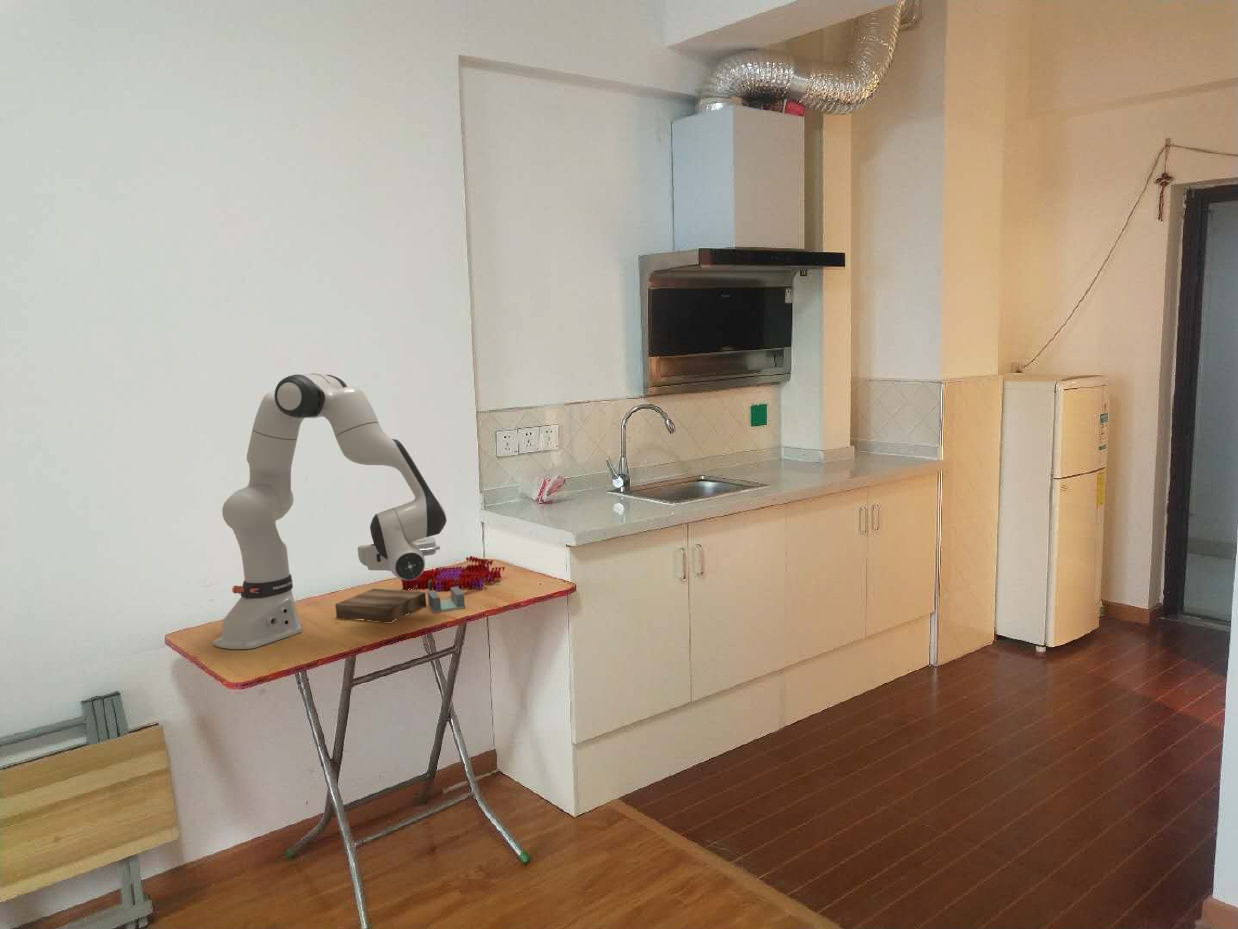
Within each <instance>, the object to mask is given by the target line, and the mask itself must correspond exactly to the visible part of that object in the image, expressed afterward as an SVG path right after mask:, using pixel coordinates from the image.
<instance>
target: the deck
mask: <svg viewBox="0 0 1238 929" xmlns="http://www.w3.org/2000/svg"><path fill="white" fill-rule="evenodd" d="M425 606H426V607H427V599H426V592H425V591H414V590H412V591H406V590H405V591H402V590H399V589H386V588H385V589H384V588H371V589H369V590H367V591H364V592H362V593H359V594H357V595H355V596H352V597H350V598H347V599H344V600H343V601H340V602H337V603H335V613H336V614H335V615H336V619H337V618H345V619H344V620H348V619H364V620H371V621H378V622H377V623H382V622H392V621H393V620H395V619H398V620H400V619H402V618H401V617H403V616H405V615H406V614H408V613H411V614H412V612H413V613H415V612H417V611H419V610H421V609H420V608H422V607H424V608H426V607H425ZM418 609H419V610H418ZM422 609H423V608H422ZM416 610H417V611H416ZM414 611H415V612H414ZM405 617H406V616H405ZM399 618H400V619H399ZM403 618H404V617H403ZM371 621H370V622H371ZM379 621H380V622H379ZM392 623H393V622H392Z"/></svg>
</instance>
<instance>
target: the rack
mask: <svg viewBox="0 0 1238 929" xmlns="http://www.w3.org/2000/svg"><path fill="white" fill-rule="evenodd" d="M450 589H451V591H450V597H451V598H450V599H445V600H441V597H440V596H439V594H438V593H437V590H433V589H432V590H431V591H429V590H427V602H428V603H427V605H428V606H429V607H431V608H430V609H431V611H432V610H433V611H432V612H433V613H434V614H435V612H437V613H441V611H444V612H448V611H447V610H450V611H454V610H453V609H456V610H461V609H460V608H463V609H465V608H466V606H465V605H466V604H465V594H464V592H463V591H462V590H461V588H459V586H458V587H455V586H454V587H452V588H450Z"/></svg>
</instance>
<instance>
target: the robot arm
mask: <svg viewBox="0 0 1238 929" xmlns="http://www.w3.org/2000/svg"><path fill="white" fill-rule="evenodd" d="M320 417H323V418H325V419H326V420H327V422H329V423H330V426H331V429H332V432H333V434H334V438H335V439H336V442H337V444H338V446H339V449H340V450H341V452H342V454H343V456H344V457H345V458H346V459H347V460H349V461H351V462H353V463H355V464H359V465H366V466H385V467H387V466H388V467H391V468H394V469H396V470H397V471H399V473H400V474H401V475H402V477H403V478H404V480H405V482H406V483H407V485H408V487H409V488H410V490H411V492H412V494H413V496H414V499H413V500H411V501H409V502H407V503H403V504H400V505H398V506H396V507H392V508H389V509H386V510H383V511H380V512H378V513H375V515H374V516H373V517H372V520H371V522H370V526H369V529H370V531H369V532H370V534H371V539H372V542H373V543H371V544H366V545H358V546H357V555H358V560H359V562H360V563H361V564H362V565H364V566H366V568H367V570H369V571H387V572H388V571H389V572H391V573H392V574H393V575H394V576H395V578H398V579H399V580H400V581H401V580H413V579H416V578H417V577H419V576H420V575H421V574H422V573H423V571H425V567H426V560H425V557H426V556H432V555H435V554H436V553H437V551H439V550H441V547H440V545H438V544H437V543H436V539H435V537H433V536H436V535H439V534H440V533H442V530H443V529H444V527H445V526H446V523H447V515H446V511H445V508H444V507H443V506H442V504H441V502H440V501H439V500H438V499H437V498H436V496H435V495H434V493H433V492H432V490H431V489H430V487H429V485H428V483H427V482H426V480H425V478H424V477H423V475H422V473H421V472H420V470H419V468H418V466H417V465H416V463H415V461H414V459H413V458H412V456H410V453H409V452H408V450H407V449H406V448H405V446H404V445H403V444H402V443H401V441H399V439H394V438H391V437H390V436H389V435H388V434H386V433H385V431H384V430H383V428H382V427H381V425H380V422H379V419H378V417H377V415H376V413H375V411H374V409H373V407H372V405H371V403H370V401H369V400H368V398H367V396H366V394H365V393H364V392H363V391H362V390H361V389H360V388H358V387H354V386H348V385H347V384H346V383H345V382H344V381H343V380H342V379H341V378H339V377H337V376H334V375H332V374H323V373H322V374H321V373H312V372H311V373H309V374H308V373H307V374H297V373H296V374H292V375H288V376H285V377H284V378H283V379H281V380H280V381H278V383H277V385H276V387H275V390H272V391H269V392H268V393H265V395H264V396H263V398H262V400H261V402H260V405H259V407H258V408H257V412H256V415H255V418H254V422H253V426H252V430H251V435H250V440H249V443H248V444H249V445H248V449H247V453H246V462H247V463H248V465H249V466H248V468H249V480H248V485H247V486H246V487H243V488H240V489H237V490H236V491H234V492H233V493H232V494H231V495H230V496H229V497H228V498H227V499H226V500H225V501H224V503H223V506H222V512H221V513H222V517H223V520H224V522H225V523H226V525H227V526H228V527H229V528H231V529H232V531H233V534H234V535H235V539H236V541H237V543H238V546H239V550H240V554H241V560H242V561H241V562H242V567H243V577H244V580H243V582H242V585H233V587H232V588H231V592H232V593H233V594H239V595H240V596H241V597H240V598H239V599H238V601H237V602H236V603H235V604H234V606H233V607H232V609H230V611H229V612H228V613H227V615H226V616H225V617H224V618H223V621H222V636H220V637H217V638H216V639H213V643H212V644H213V646H215V647H217V648H222V649H227V650H229V649H230V650H247V649H248V650H250V649H251V650H252V649H255V648H259V647H262V646H264V645H268V644H270V643H273V642H277V641H279V640H282V639H285V638H288V637H292V636H294V635H297V634H301V633H303V628H302V626H303V625H302V622H301V620H300V617H299V614H298V611H297V607H296V602H295V598H294V595H293V590H292V589H293V587H294V586H293V585H294V584H293V578H292V574H291V573H290V566H289V556H288V548H287V545H286V543H285V542H283V540H282V538H281V537H280V536H281V535H280V534H279V531H278V528H277V525H276V524H277V523H276V522H277V521H278V520H280V519H282V518H284V516H285V515H286V514H288V512H289V511H290V510H291V508H292V506H293V503H294V495H293V491H292V478H291V477H292V465H293V460H294V456H295V451H296V446H297V442H298V438H299V432H300V428H301V425H302V422H303V421H304V420H305V419H316V418H317V419H318V418H320Z"/></svg>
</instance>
